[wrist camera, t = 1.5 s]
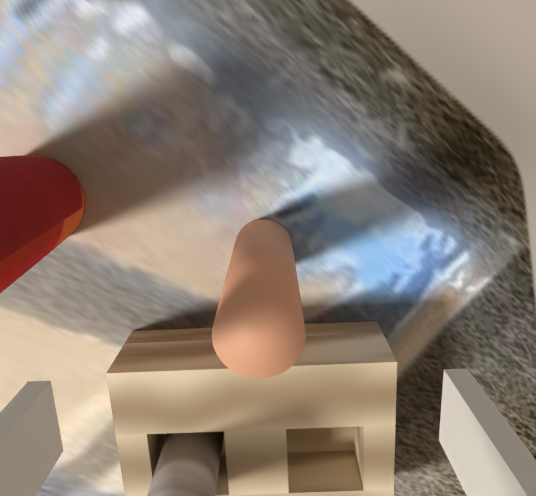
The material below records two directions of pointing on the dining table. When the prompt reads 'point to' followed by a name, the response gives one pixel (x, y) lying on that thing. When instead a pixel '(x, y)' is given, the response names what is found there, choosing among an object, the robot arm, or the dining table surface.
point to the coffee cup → (34, 211)
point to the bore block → (256, 417)
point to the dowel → (260, 304)
